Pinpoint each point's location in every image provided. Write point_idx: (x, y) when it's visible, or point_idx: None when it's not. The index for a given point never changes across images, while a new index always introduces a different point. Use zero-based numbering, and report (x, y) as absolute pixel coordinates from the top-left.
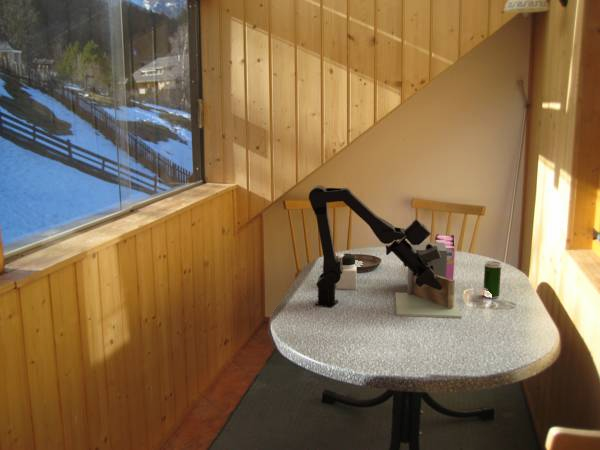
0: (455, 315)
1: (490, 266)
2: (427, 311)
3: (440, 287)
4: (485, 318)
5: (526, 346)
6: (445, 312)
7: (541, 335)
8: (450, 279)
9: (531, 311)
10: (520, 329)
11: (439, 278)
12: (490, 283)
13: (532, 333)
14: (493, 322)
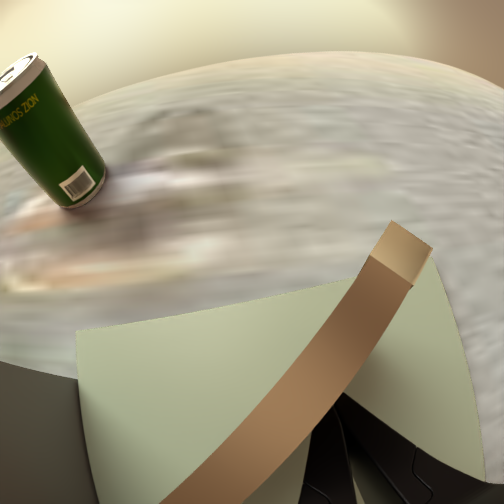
0: (440, 285)
1: (28, 78)
2: (437, 439)
3: (354, 405)
4: (377, 171)
5: (498, 105)
6: (420, 344)
7: (418, 70)
8: (362, 274)
9: (229, 75)
10: (412, 95)
11: (295, 442)
12: (74, 137)
13: (420, 80)
14: (403, 148)
